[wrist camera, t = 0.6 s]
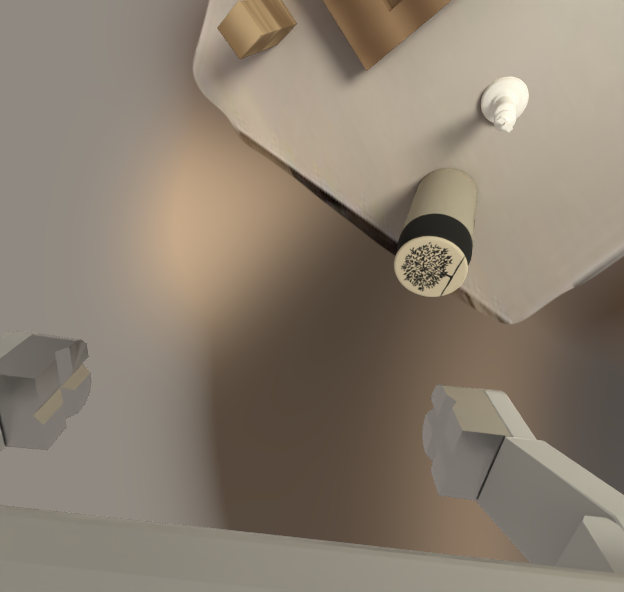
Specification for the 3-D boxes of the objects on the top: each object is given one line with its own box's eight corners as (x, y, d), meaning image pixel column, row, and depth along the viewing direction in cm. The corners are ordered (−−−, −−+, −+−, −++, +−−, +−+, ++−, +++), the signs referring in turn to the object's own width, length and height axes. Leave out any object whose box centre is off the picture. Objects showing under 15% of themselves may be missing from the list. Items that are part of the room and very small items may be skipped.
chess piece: (500, 131, 48) (500, 162, 41) (471, 102, 48) (466, 128, 40) (538, 98, 45) (546, 124, 38) (508, 66, 44) (510, 87, 37)
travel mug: (405, 205, 58) (378, 276, 45) (436, 156, 53) (415, 221, 40) (454, 231, 58) (441, 310, 45) (490, 185, 52) (487, 260, 39)
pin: (277, -6, 47) (238, 1, 40) (296, 23, 49) (261, 35, 41) (258, 17, 50) (217, 27, 42) (276, 44, 51) (239, 59, 44)
